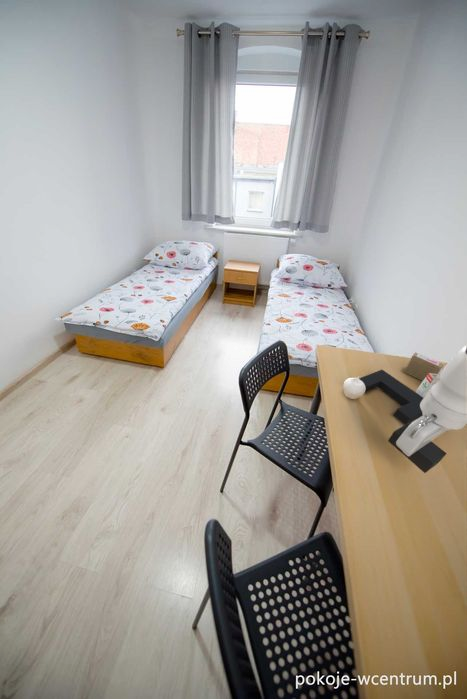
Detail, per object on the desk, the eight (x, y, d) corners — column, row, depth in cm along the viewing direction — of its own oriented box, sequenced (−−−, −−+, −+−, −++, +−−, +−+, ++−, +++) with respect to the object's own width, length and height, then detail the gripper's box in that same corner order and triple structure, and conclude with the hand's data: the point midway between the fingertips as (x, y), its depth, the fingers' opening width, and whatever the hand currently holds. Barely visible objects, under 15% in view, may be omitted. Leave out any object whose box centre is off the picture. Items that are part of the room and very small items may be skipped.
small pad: (438, 463, 68) (447, 453, 65) (424, 473, 65) (433, 463, 63) (401, 432, 74) (407, 423, 72) (387, 441, 72) (394, 431, 69)
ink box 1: (432, 381, 107) (444, 364, 103) (430, 385, 105) (442, 368, 100) (405, 368, 113) (415, 351, 108) (402, 372, 110) (412, 355, 105)
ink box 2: (414, 393, 100) (435, 361, 92) (436, 396, 100) (459, 364, 92) (418, 400, 97) (441, 367, 89) (441, 403, 97) (465, 371, 89)
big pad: (429, 411, 93) (434, 404, 91) (405, 425, 87) (410, 418, 85) (378, 375, 107) (382, 369, 105) (355, 384, 100) (358, 378, 98)
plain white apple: (362, 393, 97) (371, 375, 92) (359, 405, 91) (368, 387, 87) (342, 385, 99) (349, 368, 95) (338, 397, 94) (346, 379, 89)
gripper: (434, 436, 54) (402, 475, 62) (481, 404, 63) (449, 442, 71) (404, 414, 58) (378, 453, 66) (453, 387, 68) (425, 424, 75)
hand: (415, 447), depth 69 cm, fingers closed on small pad, 6 cm apart
